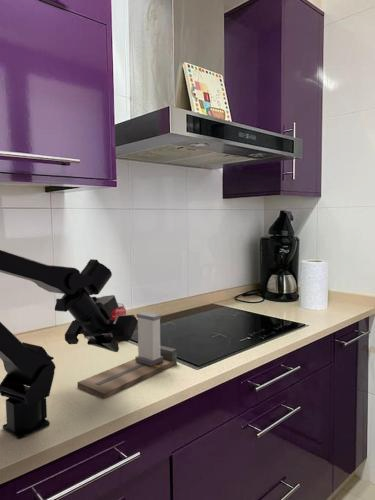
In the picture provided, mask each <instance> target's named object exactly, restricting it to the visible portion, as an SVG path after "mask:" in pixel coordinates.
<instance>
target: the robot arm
mask: <svg viewBox="0 0 375 500" xmlns="http://www.w3.org/2000/svg"><path fill="white" fill-rule="evenodd" d="M0 273H1V274H5V275H9V276H13V277H16V278H20V279H24V280H26V281H30V282H32V283H34V284H36V285H37V287H39V288H41V289H43V290H45V291H46V292H49V293H53V294H54V293H55V294H62V296H61V298H56V300H55V305H54V311H55V312H66V313H67V312H69V313H70V315H71V316H72V317H73V318H74V320H72V322H71V323H70V324H69V326H68V329H66V331H65V333H64V341H65V342H66V343H67V344H68V345H78V343H79V340H80V339H79V338H78V336H79V335H83V338H84V339H87V345H88V346H94V347H96V348H101V349H104V350H107V351H109V352H112V353H113V352H114V353H119V350H120V346H119V342H129V341H130V340H131V339H132V338H133V334H134V333H135V330H136V328H137V326H138V318H137V316H135V315H134V314H126V315H124V316H119V317H118V319H117V321H116V322H115V320H109V319H111V318H112V316H113V315H112V314H111V313H112V312H113V311H114V310H115V309H116V308H118V304H117V303H118V301H117V298H116V296H115V295H114V294H111V295H103V296H101V297H97V296H94V295H99V294H100V293H101V291H102V290H103V289H104V287H105V286H106V284H108V282H109V281H110V279H111V278H112V275H113V273H112V271H111V269H110V268H108V267H107V266H106V265H105V264H104V263H101V262H99V260H98V259H89V261H88V262H87V263H86V265H85V267H84V268H83V269H82V270H81V271H80V270H79V269H78V268H76V267H71V266H61V265H60V266H59V265H53V264H52V265H50V264H46V263H43V262H39V261H38V260H37V261H36V260H34V259H30V258H28V257H25V256H22V255H18V254H16V253H14V252H10V251H8V250H5V249H1V248H0ZM117 341H118V342H117ZM54 359H55V358H54V356H51V355H49V354H48V352H47V350H45V348H44V347H43V346H40V345H36V344H32V343H27V342H21V340H20V339H19V338H17V336H15V334H14V333H12V332H11V331H10V330H9V329H8V328H7V327H6V326H5V325H4V324H3V323H2V322H1V321H0V360H1V361H2V363H3V367H4V370H5V371H6V374H5V376H4V377H3V378H2V381H1V382H0V396H1V397H4V398H5V413H6V414H5V415H6V417H5V418H6V423H5V424H3V425H2V429H4V430H5V431H6V432H7V433H10V434H11V435H13V436H14V437H16V439H22V438H24V437H26V436H29V435H30V434H33V433H35V432H36V431H39V430H41V429H43V428H45V427H48V426H49V425H50V421H49V420H48V419H47V418H48V417H47V416H48V409H47V398H49V396H50V394H51V389H52V386H53V383H54V377H55V370H56V364H55V362H54V361H53V360H54Z"/></svg>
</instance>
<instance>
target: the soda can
mask: <svg viewBox="0 0 375 500" xmlns="http://www.w3.org/2000/svg"><path fill="white" fill-rule="evenodd" d="M117 304H118V308H116V309H115V310H114V311H113V312H112V313H111V314H112V315H113V316H112V318H111V319H109V320H115V322H116V321H117V319H118V317H119V316H124V315H127V310H126V308H125V304H124V303H120V302H119V303H118V302H117ZM117 342H118V343H119V341H117Z"/></svg>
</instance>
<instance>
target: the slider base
mask: <svg viewBox="0 0 375 500" xmlns="http://www.w3.org/2000/svg"><path fill="white" fill-rule="evenodd" d="M177 355H178V354H177V349H176V348H173V347H168V346H164V345H161V344H160V356H163V361H162V362H159V363H157V364H155V365H153V366H149V365H146V364H142V363H139V362H136V361H135V358H133V359H131V360H129V361H127V362H124V363H122V364H119V365H116V366H114V367H112V368H110V369H106V370H104V371H102V372H99V373H97V374H94V375H92V376H90V377H87V378H85V379H82V380H80V381H77V388H79V389H81V390H83V391H85V392H89V393H91V394H93V395H96V396H97V397H100V398H101V399H102V398H103V399H107V398H109V397H110V396H113V395H114V394H116V393H119V392H121V391H122V390H126V389H127V388H130V387H131V386H133V385H135V384H137V383H140V382H142V381H144V380H146V379H148V378H150V377H152V376H154V375H157V374H158V373H159V374H160V373H161V372H162V371H165V370H168V369H169V368H171V367H173V366H175V365H177V364H178V361H177V359H178V357H177Z"/></svg>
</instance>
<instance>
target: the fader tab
mask: <svg viewBox="0 0 375 500" xmlns="http://www.w3.org/2000/svg"><path fill="white" fill-rule="evenodd" d="M161 318H162V315H161V314H158V313H153V312H148V311H142V312H138V313H136V319H137V320H138V323H137V343H138V344H137V348H138V349H137V350H138V351H137V352H138V354H137V356H135V358H134V359H135V361H136V362H139V363H142V364H146V365H149V366H153V365H155V364H157V363H159V362H162V361H163V356H160V345H161Z"/></svg>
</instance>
